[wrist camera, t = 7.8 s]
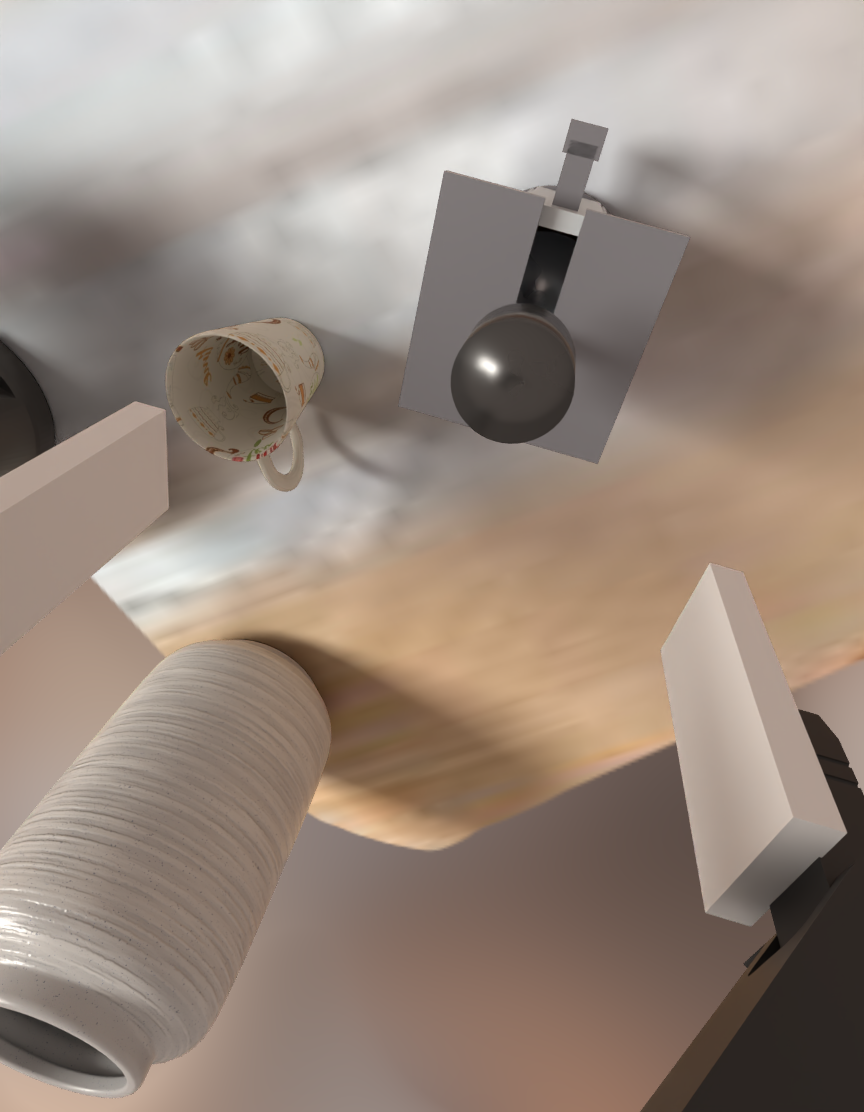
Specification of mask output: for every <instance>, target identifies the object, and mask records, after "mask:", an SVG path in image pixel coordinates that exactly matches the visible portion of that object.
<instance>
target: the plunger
mask: <svg viewBox="0 0 864 1112" xmlns="http://www.w3.org/2000/svg"><path fill="white" fill-rule="evenodd" d="M575 244H576V241H575V240H573V239H572V238H570V237H568V236H566V235H564V234H561V233H558V232H553V231H542V230H541V231H536V235H535V238H534V242H533V246H532V249H531V253H530V256H529V260H528V263H527V267H526V271H525V274H524V278H523V281H522V285H521V288H520V292H519V295H518V299H517V303H516V304H509V305H505V306H502V307H499V308H497V309H495V310H493V311H491V312H490V313H488V314H487V315H486V316H484V317H483V318H482V319H481V320H480V321H479V322H478V323H477V325H476V326H475V327H474V328H473V330H472V332H471V333H470V335H469V336H468V338H467V340H466V341H465V343H464V344H463V346H462V348H461V349H460V351H459V353H458V354H457V357H456V359H455V361H454V364H453V367H452V372H451V393H452V398H453V401H454V404H455V407H456V409H457V411H458V412H459V414H460V416H461V417H462V419H463V420H464V421H465V422H466V423H467V425H468V426H469V427H471V428H472V429H473V430H474V431H475V432H477V433H478V434H480V435H482V436H484V437H486V438H488V439H490V440H493V441H496V442H501V443H509V444H513V443H524V442H528V441H532V440H535V439H537V438H539V437H541V436H543V435H545V434H547V433H548V432H549V431H551V430H552V429H553V428H554V427H555V426H556V425H557V424H558V423H559V422H560V421H561V420H562V419H563V417H564V416H565V414H566V413H567V411H568V409H569V407H570V404H571V402H572V398H573V395H574V389H575V365H576V354H575V347H574V343H573V340H572V337H571V335H570V333H569V331H568V329H567V328H566V326H565V325H564V324H563V323H562V321H561V320H560V319H559V318H558V317H557V316H555V315H554V311H555V307H556V304H557V301H558V298H559V295H560V292H561V288H562V285H563V282H564V279H565V276H566V273H567V269H568V266H569V263H570V260H571V257H572V254H573V250H574V247H575Z"/></svg>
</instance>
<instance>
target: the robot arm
mask: <svg viewBox="0 0 864 1112" xmlns="http://www.w3.org/2000/svg"><path fill="white" fill-rule="evenodd" d="M54 439H55V438H54V426H53V420H52V416H51V413H50V410H49V407H48V404H47V402H46V400H45V397H44V395H43V393H42V391H41V389H40V388H39V386H38V384H37V382H36V381H35V379H34V378H33V376H32V375H31V374H30V372H29V371H28V369H27V368H26V367H25V366H24V364H23V363H22V362H21V361H20V360H19V359H18V358H17V357H16V356H15V354H14V353H13V352H12V351H10V350H9V349H8V348H7V347H6V346H5V345H4V344H3V343H2V342H0V656H1V655H2V654H3V653H4V652H5V651H6V650H8V649H9V648H10V647H11V646H12V645H13V644H14V643H16V642H17V641H18V640H19V639H20V638H21V637H22V636H24V635H25V634H26V633H27V632H28V631H29V630H30V629H32V628H33V627H34V626H35V625H36V624H37V623H39V621H41V620H42V619H43V618H44V617H45V616H46V615H48V614H49V613H50V612H51V611H52V610H53V609H54V608H56V607H57V606H58V605H59V604H60V603H61V602H63V601H64V600H65V599H66V598H67V597H68V596H69V595H71V594H72V593H73V592H74V591H75V590H76V589H77V588H79V586H81V585H82V584H83V583H84V582H85V581H86V580H88V579H89V578H90V577H91V576H92V575H93V574H95V573H96V572H97V571H98V570H99V569H100V568H101V567H103V566H104V565H105V564H106V563H107V562H108V561H109V560H111V559H112V558H113V557H114V556H115V555H116V554H117V553H119V552H120V551H121V550H122V549H123V548H124V547H125V546H127V545H128V544H129V543H130V542H131V541H132V540H133V539H135V538H136V537H137V536H138V535H139V534H140V533H141V532H143V531H144V530H145V529H146V528H147V527H148V526H149V525H151V524H152V523H153V522H154V521H155V520H156V519H157V518H159V517H160V516H161V515H162V514H163V513H164V512H165V511H167V510H168V509H169V494H168V465H167V435H166V410H165V409H161V408H158V407H154V406H150V405H147V404H143V403H140V402H136V401H135V402H133V403H131V404H129V405H128V406H126V407H124V408H122V409H120V410H119V411H117V412H115V413H113V414H112V415H110V416H108V417H106V418H104V419H103V420H101V421H99V422H97V423H96V424H94V425H92V426H90V427H88V428H87V429H85V430H83V431H81V432H80V433H78V434H76V435H74V436H73V437H71V438H69V439H67V440H65V441H64V442H62V443H60V444H58V445H57V446H55V447H54ZM661 656H662V662H663V668H664V674H665V679H666V685H667V691H668V697H669V703H670V709H671V714H672V720H673V726H674V732H675V738H676V744H677V749H678V755H679V761H680V767H681V773H682V778H683V785H684V790H685V796H686V802H687V808H688V814H689V820H690V826H691V831H692V837H693V843H694V849H695V855H696V861H697V867H698V872H699V878H700V884H701V890H702V896H703V901H704V908H705V912H706V913H708V914H711V915H715V916H718V917H721V918H724V919H728V920H731V921H734V922H737V923H741V924H744V925H747V926H752V925H753V924H754V923H755V922H756V921H757V920H758V919H760V918H761V917H762V916H763V915H764V913H766V912H767V911H768V910H769V909H771V913H772V917H773V921H774V925H775V928H776V934H775V935H774V936H773V937H772V938H771V939H770V940H769V941H768V942H767V943H765V945H763V946H762V947H761V948H760V949H759V950H758V951H757V952H756V953H755V954H753V956H751V957H750V958H749V959H748V960H747V961H746V962H745V963H744V965H745V966H746V967H747V969H746V971H745V972H744V973H743V975H742V976H741V977H740V979H739V980H738V981H737V983H736V984H735V986H734V987H733V988H732V989H731V991H730V992H729V993H728V995H727V996H726V997H725V999H724V1000H723V1002H722V1003H721V1004H720V1006H719V1007H718V1008H717V1010H716V1011H715V1012H714V1014H713V1015H712V1016H711V1018H710V1019H709V1020H708V1022H707V1023H706V1025H705V1026H704V1027H703V1028H702V1030H701V1031H700V1033H699V1034H698V1035H697V1036H696V1038H695V1039H694V1040H693V1042H692V1043H691V1044H690V1046H689V1047H688V1048H687V1050H686V1051H685V1052H684V1054H683V1055H682V1056H681V1058H680V1059H679V1061H678V1062H677V1063H676V1065H675V1066H674V1068H673V1069H672V1070H671V1071H670V1073H669V1074H668V1075H667V1077H666V1078H665V1079H664V1081H663V1082H662V1083H661V1085H660V1086H659V1087H658V1089H657V1090H656V1091H655V1093H654V1094H653V1095H652V1097H651V1098H650V1099H649V1101H648V1102H647V1103H646V1105H645V1106H644V1107H643V1109H642V1110H641V1111H640V1112H864V795H863V792H862V790H861V789H860V788H858V786H857V785H858V781H857V779H856V777H855V775H854V772H853V770H852V768H849V761H848V759H847V757H846V755H845V752H844V750H843V748H842V746H841V743H840V741H839V739H838V738H837V737H836V735H835V734H834V733H833V732H832V731H831V730H830V728H829V727H828V726H827V725H826V724H825V722H824V721H823V720H822V719H821V718H820V716H819V715H816V714H813V713H810V712H806V711H803V710H799V709H798V708H797V706H796V703H795V701H794V698H793V696H792V693H791V691H790V688H789V686H788V683H787V681H786V678H785V676H784V673H783V671H782V668H781V666H780V663H779V661H778V658H777V656H776V653H775V651H774V648H773V646H772V643H771V641H770V638H769V636H768V633H767V631H766V628H765V626H764V623H763V621H762V618H761V616H760V613H759V611H758V608H757V606H756V603H755V601H754V598H753V596H752V593H751V591H750V588H749V586H748V583H747V581H746V578H745V576H744V573H743V572H742V571H738V570H734V569H731V568H727V567H724V566H720V565H717V564H713V563H709V565H708V567H707V569H706V570H705V572H704V574H703V576H702V577H701V579H700V581H699V583H698V584H697V586H696V588H695V590H694V592H693V593H692V595H691V597H690V599H689V600H688V602H687V604H686V606H685V607H684V609H683V611H682V613H681V615H680V616H679V618H678V620H677V622H676V623H675V625H674V627H673V629H672V630H671V632H670V634H669V636H668V637H667V639H666V641H665V643H664V645H663V646H662V648H661Z"/></svg>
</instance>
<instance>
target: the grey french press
mask: <svg viewBox="0 0 864 1112" xmlns="http://www.w3.org/2000/svg"><path fill="white" fill-rule="evenodd" d="M607 132H608V128H605V127H601V126H597V125H593V124H589V123H586V122H582V121H578V120H574V119H572V120H571V123H570V127H569V130H568V134H567V137H566V141H565V144H564V148H563V151H562V152H565V153H567V154H566V158H565V161H564V165H563V168H562V171H561V175H560V178H559V182H558V185H557V186H550V185H548V186H538V187H533V188H531V189H527V190H524V191H521V190H517V189H514V188H510V187H506V186H503V185H499V184H495V183H492V182H488V181H484V180H480V179H477V178H473V177H469V176H466V175H462V174H458V173H455V172H451V171H444V174H443V180H442V185H441V190H440V195H439V200H438V205H437V210H436V215H435V220H434V226H433V231H432V236H431V241H430V246H429V251H428V256H427V261H426V266H425V272H424V277H423V282H422V287H421V292H420V297H419V302H418V307H417V312H416V317H415V323H414V328H413V333H412V338H411V343H410V348H409V353H408V358H407V363H406V369H405V374H404V379H403V384H402V389H401V394H400V399H399V404H398V406H399V407H402V408H406V409H409V410H413V411H416V412H420V413H423V414H427V415H430V416H434V417H437V418H440V419H444V420H447V421H451V422H454V423H458V424H461V425H465V426H468V425H467V423H466V422H465V421H464V420H463V419H462V417H461V416H460V414H459V412H458V411H457V409H456V407H455V404H454V401H453V398H452V393H451V372H452V367H453V364H454V361H455V359H456V357H457V354H458V353H459V351H460V349H461V348H462V346H463V344H464V343H465V341H466V340H467V338H468V336H469V335H470V333H471V332H472V330H473V328H474V327H475V326H476V325H477V323H478V322H479V321H480V320H481V319H482V318H483V317H484V316H486V315H487V314H488V313H490V312H491V311H493V310H495V309H497V308H499V307H502V306H505V305H509V304H516V303H517V299H518V295H519V292H520V288H521V285H522V281H523V278H524V274H525V271H526V267H527V263H528V260H529V256H530V253H531V249H532V246H533V242H534V238H535V235H536V231H541V230H542V231H553V232H558V233H561V234H564V235H566V236H568V237H570V238H572V239H573V240H575V241H576V244H575V247H574V250H573V254H572V257H571V260H570V263H569V266H568V269H567V273H566V276H565V279H564V282H563V285H562V288H561V292H560V295H559V298H558V301H557V304H556V307H555V311H554V315H555V316H557V317H558V318H559V319H560V320H561V321H562V323H563V324H564V325H565V326H566V328H567V329H568V331H569V333H570V335H571V337H572V340H573V343H574V347H575V354H576V365H575V389H574V395H573V398H572V402H571V404H570V407H569V409H568V411H567V413H566V414H565V416H564V417H563V419H562V420H561V421H560V422H559V423H558V424H557V425H556V426H555V427H554V428H553V429H552V430H551V431H549V432H548V433H547V434H545V435H543V436H541V437H539V438H537V439H535V440H532V441H528V442H524V443H527V444H530V445H534V446H537V447H541V448H544V449H548V450H551V451H555V452H558V453H562V454H565V455H569V456H572V457H575V458H579V459H582V460H586V461H589V462H593V463H596V464H598V462H599V459H600V457H601V454H602V452H603V450H604V447H605V445H606V442H607V440H608V437H609V435H610V432H611V430H612V428H613V425H614V423H615V420H616V418H617V415H618V413H619V410H620V408H621V405H622V403H623V401H624V398H625V396H626V393H627V391H628V388H629V386H630V383H631V381H632V379H633V376H634V374H635V371H636V369H637V366H638V364H639V361H640V359H641V357H642V354H643V352H644V349H645V347H646V344H647V342H648V339H649V337H650V334H651V332H652V330H653V327H654V325H655V322H656V320H657V317H658V315H659V312H660V310H661V308H662V305H663V303H664V300H665V298H666V295H667V293H668V290H669V288H670V286H671V283H672V281H673V278H674V276H675V273H676V271H677V268H678V266H679V263H680V261H681V259H682V256H683V254H684V251H685V249H686V246H687V244H688V241H689V239H690V237H689V236H688V235H684V234H680V233H677V232H673V231H669V230H666V229H662V228H658V227H654V226H651V225H647V224H643V223H640V222H636V221H632V220H629V219H625V218H621V217H617V216H614V215H611V214H610V213H609V212H608V211H607V210H606V209H605V207H604V206H603V205H602V204H600V202H598V201H596V200H595V199H594V198H592V197H591V196H589V195H587V194H585V193H584V190H585V187H586V183H587V180H588V177H589V174H590V171H591V167H592V164H593V161H594V160H595V161H598V160H599V157H600V154H601V151H602V148H603V144H604V141H605V138H606V135H607ZM468 427H469V426H468Z"/></svg>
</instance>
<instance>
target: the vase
mask: <svg viewBox="0 0 864 1112" xmlns="http://www.w3.org/2000/svg"><path fill="white" fill-rule="evenodd" d="M331 738H332V734H331V723H330V718H329V715H328V712H327V709H326V706H325V703H324V701H323V700H322V698H321V696H320V694H319V692H318V690H317V689H316V687H315V685H314V683H313V681H312V679H311V678H310V677H309V675H308V674H307V673H306V671H305V670H304V669H303V668H302V667H301V666H300V665H299V664H298V663H297V662H295V661H294V660H293V659H291V658H290V657H289V656H287V655H286V654H284V653H282V652H281V651H279V650H277V649H275V648H273V647H270V646H268V645H265V644H262V643H259V642H255V641H249V640H209V641H203V642H198V643H194V644H191V645H188V646H186V647H183V648H181V649H178V650H177V651H175V652H174V653H172V654H171V655H169V656H168V657H166V658H165V659H164V660H162V661H161V662H160V663H159V664H158V665H157V666H156V667H155V668H154V669H153V670H152V671H151V673H150V674H149V675H148V676H147V677H146V678H145V679H144V680H143V681H142V682H141V683H140V684H139V686H138V687H137V688H136V689H135V690H134V691H133V693H132V694H131V695H130V696H129V697H128V699H127V700H126V701H125V702H124V703H123V704H122V705H121V707H120V708H119V709H118V710H117V711H116V712H115V714H114V715H113V716H112V717H111V718H110V719H109V721H108V722H107V723H106V724H105V725H104V727H103V728H102V729H101V730H100V731H99V732H98V734H97V735H96V736H95V737H94V738H93V739H92V741H91V742H90V743H89V744H88V745H87V747H86V748H85V749H84V750H83V751H82V753H81V754H80V755H79V756H78V757H77V759H76V760H75V761H74V762H73V763H72V764H71V766H70V767H69V768H68V769H67V770H66V772H65V773H64V774H63V775H62V776H61V778H60V779H59V780H58V781H57V782H56V784H55V785H54V786H53V787H52V788H51V790H50V791H49V792H48V793H47V794H46V796H45V797H44V798H43V799H42V801H41V802H40V803H39V804H38V805H37V807H36V808H35V809H34V810H33V812H32V813H31V814H30V815H29V817H28V818H27V819H26V820H25V822H24V823H23V824H22V825H21V826H20V828H19V829H18V830H17V831H16V832H15V834H14V835H13V836H12V837H11V838H10V840H9V841H8V842H7V843H6V845H5V846H4V847H3V848H2V849H1V851H0V1063H2V1064H4V1065H6V1066H8V1067H10V1068H12V1069H14V1070H16V1071H18V1072H20V1073H22V1074H25V1075H27V1076H29V1077H31V1078H34V1079H36V1080H39V1081H41V1082H44V1083H47V1084H49V1085H53V1086H56V1087H59V1088H61V1089H65V1090H68V1091H72V1092H75V1093H80V1094H84V1095H88V1096H95V1097H101V1098H119V1097H125V1096H128V1095H131V1094H133V1093H134V1092H136V1091H137V1090H138V1089H139V1088H140V1087H141V1085H142V1083H143V1082H144V1080H145V1077H146V1075H147V1073H148V1071H149V1069H150V1067H151V1065H152V1064H158V1063H165V1062H167V1061H170V1060H173V1059H175V1058H178V1057H181V1056H183V1055H184V1054H186V1053H187V1052H189V1051H190V1050H192V1049H193V1048H194V1047H195V1046H196V1045H197V1044H198V1043H199V1042H201V1040H203V1039H204V1037H205V1036H206V1034H207V1033H208V1032H209V1030H210V1029H211V1027H212V1026H213V1024H214V1022H215V1021H216V1019H217V1017H218V1015H219V1013H220V1011H221V1009H222V1007H223V1005H224V1003H225V1001H226V999H227V996H228V994H229V992H230V990H231V988H232V986H233V984H234V982H235V979H236V978H237V975H238V973H239V971H240V969H241V967H242V965H243V963H244V960H245V958H246V956H247V953H248V951H249V949H250V946H251V944H252V942H253V939H254V937H255V935H256V933H257V930H258V928H259V925H260V923H261V921H262V919H263V916H264V914H265V912H266V909H267V907H268V905H269V902H270V900H271V898H272V895H273V893H274V891H275V888H276V886H277V884H278V881H279V879H280V876H281V874H282V871H283V869H284V867H285V864H286V862H287V860H288V857H289V855H290V852H291V850H292V848H293V845H294V843H295V840H296V838H297V836H298V833H299V831H300V828H301V826H302V823H303V821H304V819H305V816H306V814H307V811H308V809H309V806H310V804H311V801H312V799H313V796H314V794H315V791H316V789H317V786H318V784H319V781H320V779H321V776H322V773H323V770H324V768H325V765H326V762H327V759H328V756H329V751H330V745H331Z"/></svg>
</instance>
